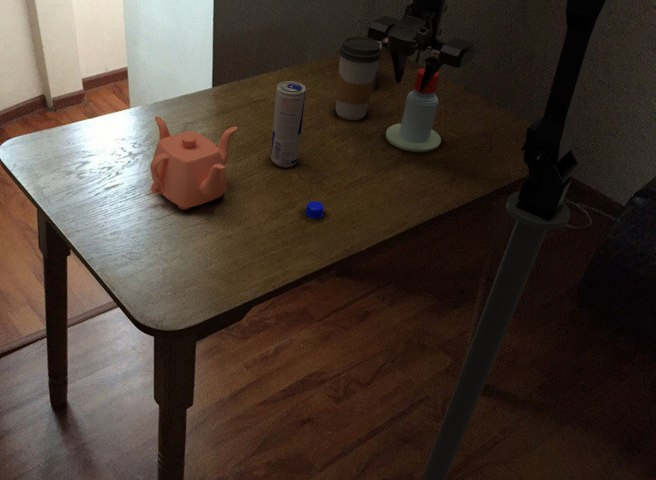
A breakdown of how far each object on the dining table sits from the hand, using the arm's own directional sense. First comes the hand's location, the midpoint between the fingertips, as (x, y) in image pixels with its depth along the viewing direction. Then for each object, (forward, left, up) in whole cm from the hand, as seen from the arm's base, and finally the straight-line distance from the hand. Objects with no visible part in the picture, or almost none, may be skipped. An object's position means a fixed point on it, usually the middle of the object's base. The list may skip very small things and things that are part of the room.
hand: (410, 86), depth 129 cm
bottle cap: (-1, +30, -13) cm, 32 cm away
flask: (+21, -23, -13) cm, 34 cm away
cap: (0, -7, -2) cm, 7 cm away
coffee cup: (+15, -6, -13) cm, 21 cm away
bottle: (0, -7, -12) cm, 14 cm away
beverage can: (+13, +20, -13) cm, 27 cm away
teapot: (+18, +39, -13) cm, 45 cm away
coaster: (0, -6, -13) cm, 15 cm away
